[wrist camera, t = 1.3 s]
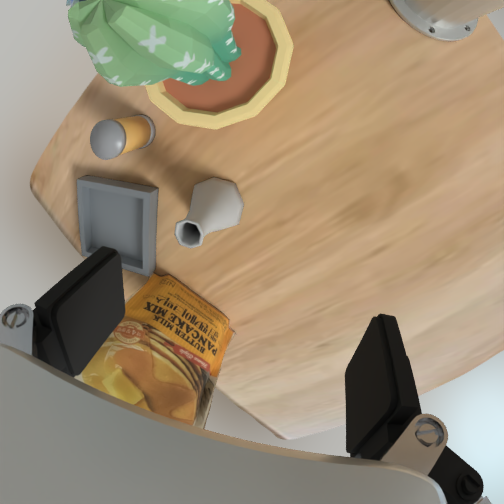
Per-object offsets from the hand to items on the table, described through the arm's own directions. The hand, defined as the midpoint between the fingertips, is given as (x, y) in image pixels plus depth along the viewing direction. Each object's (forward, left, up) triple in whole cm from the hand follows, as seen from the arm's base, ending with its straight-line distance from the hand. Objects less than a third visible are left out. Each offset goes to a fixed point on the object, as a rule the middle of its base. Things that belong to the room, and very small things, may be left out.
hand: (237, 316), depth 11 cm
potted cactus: (-11, -9, -28) cm, 32 cm away
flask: (+7, -8, -28) cm, 31 cm away
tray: (+13, -23, -28) cm, 39 cm away
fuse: (-1, -20, -28) cm, 35 cm away
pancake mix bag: (+25, -10, -28) cm, 39 cm away
